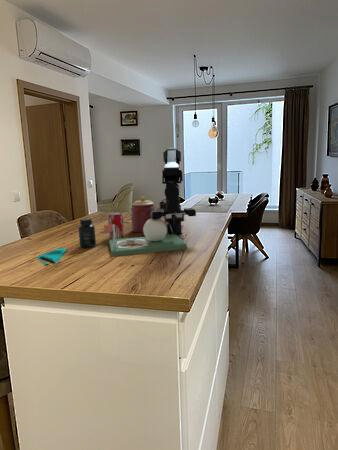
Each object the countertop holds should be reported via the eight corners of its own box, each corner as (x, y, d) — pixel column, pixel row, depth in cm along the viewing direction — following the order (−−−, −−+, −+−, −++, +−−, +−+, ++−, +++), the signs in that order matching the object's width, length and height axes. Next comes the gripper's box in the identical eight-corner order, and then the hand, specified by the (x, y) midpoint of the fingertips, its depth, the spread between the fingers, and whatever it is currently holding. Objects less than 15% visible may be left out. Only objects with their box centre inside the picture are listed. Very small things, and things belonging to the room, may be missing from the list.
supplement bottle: (99, 245, 148) (97, 218, 145) (90, 249, 141) (88, 221, 139) (85, 244, 150) (83, 217, 147) (76, 248, 144) (74, 220, 141)
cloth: (52, 249, 145) (52, 244, 145) (82, 249, 143) (82, 244, 143) (17, 268, 120) (16, 262, 120) (53, 269, 118) (53, 263, 118)
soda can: (121, 240, 155) (120, 214, 152) (107, 240, 156) (105, 214, 154) (126, 236, 162) (125, 212, 159) (112, 236, 163) (111, 212, 161)
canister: (145, 234, 165) (143, 198, 162) (126, 231, 173) (124, 197, 170) (161, 229, 176) (160, 195, 172) (143, 227, 183) (141, 194, 180)
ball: (166, 235, 148) (161, 213, 146) (171, 240, 139) (166, 216, 137) (144, 241, 147) (139, 219, 144) (148, 246, 137) (142, 223, 135)
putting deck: (175, 238, 155) (174, 212, 152) (187, 249, 135) (186, 220, 133) (104, 244, 148) (102, 217, 146) (106, 257, 129) (104, 226, 126)
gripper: (188, 193, 150) (189, 228, 153) (147, 196, 146) (149, 231, 149) (196, 196, 139) (196, 233, 142) (151, 199, 135) (153, 236, 138)
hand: (173, 233), depth 143 cm, fingers closed
